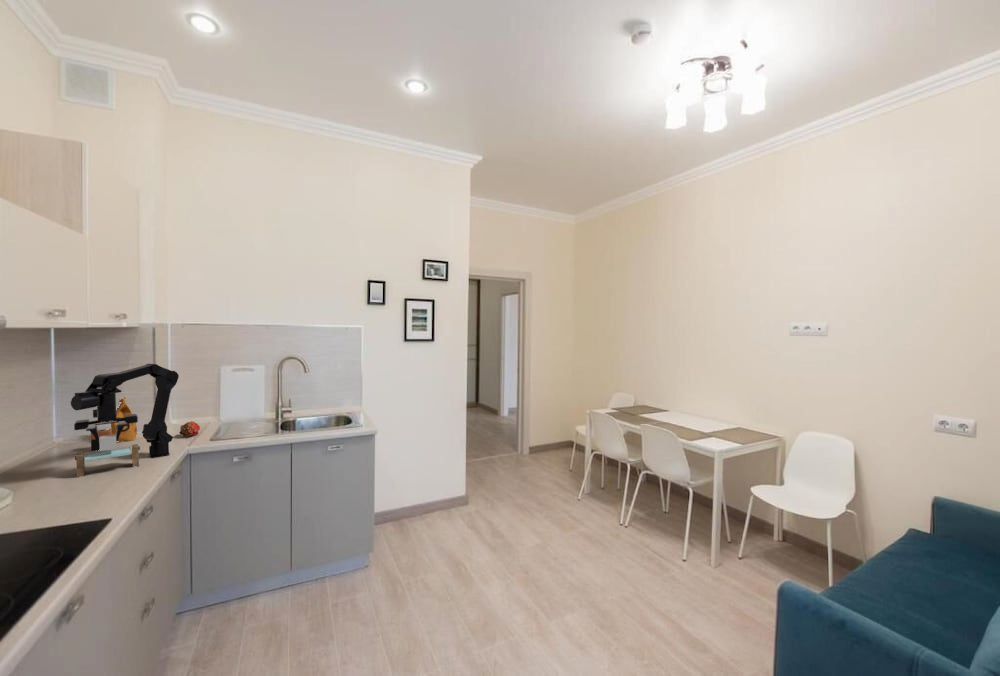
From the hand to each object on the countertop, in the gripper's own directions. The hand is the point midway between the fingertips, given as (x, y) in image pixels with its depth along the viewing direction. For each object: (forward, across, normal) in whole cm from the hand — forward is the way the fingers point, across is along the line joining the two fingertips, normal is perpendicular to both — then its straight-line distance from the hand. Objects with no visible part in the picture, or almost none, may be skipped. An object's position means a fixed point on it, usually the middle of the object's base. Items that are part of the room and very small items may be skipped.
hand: (108, 442), depth 170 cm
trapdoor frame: (+12, 0, -2) cm, 13 cm away
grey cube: (+3, 0, 0) cm, 3 cm away
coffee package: (+13, -5, -54) cm, 56 cm away
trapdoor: (+8, 0, -3) cm, 8 cm away
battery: (+13, +3, -40) cm, 42 cm away
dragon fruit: (+13, -31, -40) cm, 52 cm away
